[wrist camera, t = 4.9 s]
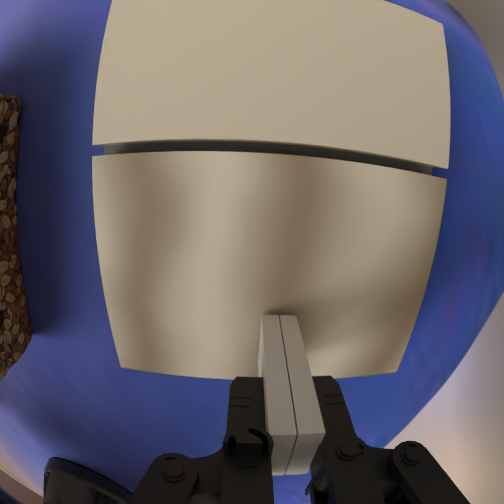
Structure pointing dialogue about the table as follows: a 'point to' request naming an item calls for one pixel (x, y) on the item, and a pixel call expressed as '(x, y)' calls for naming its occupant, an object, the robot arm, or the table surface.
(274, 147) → the floor base
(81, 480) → the robot arm
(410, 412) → the table surface
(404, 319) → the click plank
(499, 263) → the table surface
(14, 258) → the bread
